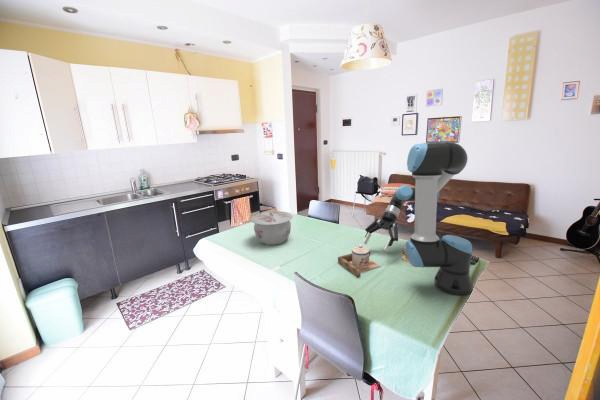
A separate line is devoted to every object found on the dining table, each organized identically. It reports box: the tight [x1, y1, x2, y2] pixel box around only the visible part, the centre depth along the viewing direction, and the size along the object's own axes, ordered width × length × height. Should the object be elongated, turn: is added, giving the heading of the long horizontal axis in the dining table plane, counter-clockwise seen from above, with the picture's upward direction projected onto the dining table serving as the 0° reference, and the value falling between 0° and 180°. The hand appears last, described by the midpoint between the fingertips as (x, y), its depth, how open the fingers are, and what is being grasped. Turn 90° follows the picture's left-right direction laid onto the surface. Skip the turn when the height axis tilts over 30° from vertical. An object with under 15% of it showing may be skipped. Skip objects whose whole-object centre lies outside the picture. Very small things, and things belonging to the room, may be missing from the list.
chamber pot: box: [250, 210, 293, 246], centre depth 185 cm, size 28×28×21 cm
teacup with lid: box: [351, 244, 372, 269], centre depth 148 cm, size 12×9×12 cm
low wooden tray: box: [337, 252, 381, 278], centre depth 149 cm, size 18×17×4 cm
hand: (374, 246), depth 154 cm, fingers open, 13 cm apart
